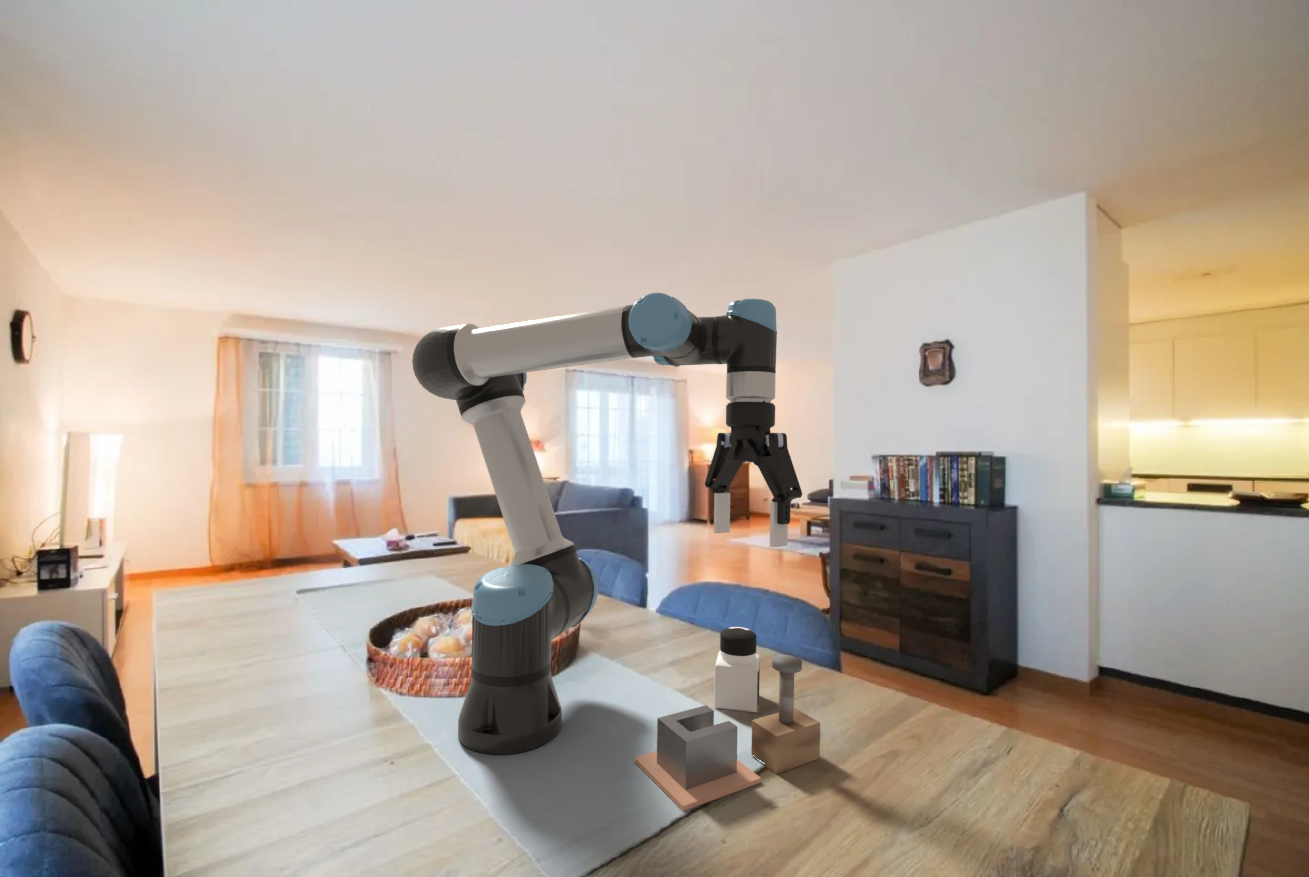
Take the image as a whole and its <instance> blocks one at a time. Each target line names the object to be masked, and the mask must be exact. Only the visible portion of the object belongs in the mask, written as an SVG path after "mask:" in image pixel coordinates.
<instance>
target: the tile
mask: <svg viewBox="0 0 1309 877" xmlns="http://www.w3.org/2000/svg"><path fill="white" fill-rule="evenodd" d="M634 763H635V764H636V765H637V766H638V767H639V768H640V769H641V770H642V772H644V773H645V774H646V775H647V777H649V778H650V779H651V781H653V782H654V784H656V786H657V787H658V788H659V789H660V790H661V791H662V792H663V791H664V792H665V795H666V796H667V795H668V796H667V797H668V798H669V799H670V800H671V801H672V800H673V801H674V802H675V803H674V802H673V801H672V802H673V803H674V804H675V805H676V806H677V807H678V808H679V809H680V810H681V811H682V812H685V811H687V810H690V809H693V808H696V807H699V806H701V805H703V804H706V803H709V802H712V801H714V800H717V799H720V798H722V797H723V798H724V797H725V796H728V795H731V794H733V793H734V794H735V793H736V792H739V791H742V790H744V789H748V788H750V787H753V786H755V785H758V784H760V783H762V778H761V777H760V776H759V775H758V774H756V772H754V771H753V770H752V769H750V768H749V767H748V766H746V765H745V764H744V763H742V762H741V761H740V760H738V759H737V773H734V774H731V775H728V776H726V777H723V778H720V779H717V780H714V781H711V782H708V783H705V784H702V785H700V786H697V787H694V788H691V789H688V790H685V789H684V788H683V787H681V786H680V785H679V784H678V783H677V782H676V781H675V780H674V779H673V778H672V777H671V776H670V775H669V774H668V773H667V772H666V771H665V770H664V769H663V768H662V767H661V766H660V765H658V764H657V750H656V751H652V752H649V753H645V754H643V755H639V756H635V757H634ZM664 792H663V793H664ZM684 810H685V811H684Z"/></svg>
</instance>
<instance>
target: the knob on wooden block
mask: <svg viewBox="0 0 1309 877" xmlns="http://www.w3.org/2000/svg"><path fill="white" fill-rule="evenodd" d="M802 661H803V660H802V659H800V658H799V657H796V656H793V655H788V654H778V655H775V656H773V657H772V665H771V667H772V669H774V670H775V671H777V672H779V684H778V685H779V686H778V712H775V713H773V714H768V715H765V716H762V717H758V718H755V719H753V720H751V753H750V754H752V755H754V756H755V757H756V758H757V759H759V760H761V761H762V762H764V763H765V765H766V769H768V770H769V771H771V772H772V773H774V774H775V775H778V774H780V773H783V772H785V771H789V770H792V769H793V768H798V767H800V766H803V765H805V764H808V763H811V762H813V761H816V760H819V759H820V755H821V722H820V721H819V720H816V718H813V717H812V716H809V715H808V714H806V713H804V712H803V711H801V710H800V709H797V708H796V707H794V706H795V704H794V703H795V674H796V673H799V672H801V671H802V669H803V667H802V666H803V662H802Z"/></svg>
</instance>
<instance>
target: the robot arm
mask: <svg viewBox="0 0 1309 877" xmlns="http://www.w3.org/2000/svg"><path fill="white" fill-rule="evenodd" d="M777 334H778V331H777V308H776V306H775V305H774V303H772V302H771V301H769V300H767V299H762V298H761V299H760V298H743V299H738V300H734V301H732V302H730V303H729V304H728V306H727V311H726V314H725V315H717V316H696V315H695V313H693V312H691V311H690V310H689V309H688V308H687V306H685V304H684V303H683V302H682V301H680V300H679V299H678V298H675V297H674V296H670V295H668V294H666V293H663V292H650V293H647V294H645V295H644V296H641V297H640V298H639V299H637V301H635V303H632V304H628V305H622V306H616V307H615V306H614V307H610V308H609V307H608V308H603V309H598V310H597V309H596V310H592V311H591V310H590V311H585V312H579V313H571V314H565V315H559V316H553V317H546V318H540V319H534V320H527V321H521V322H520V321H519V322H514V323H509V324H503V325H495V326H490V327H483V328H480V327H478V326H477V325H475V324H474V323H464V324H459V325H452V326H445V327H439V328H437V329H433V330H431V331H430V332H428V333H426V334H425V335H424V336H422V337H421V339H420V340H419V341H418V342H417V344H416V346H415V347H414V349H413V353H412V359H411V360H412V362H411V363H412V369H413V373H414V375H415V377H416V379H417V381H418V383H419V384H420V386H422V388H423V389H424V390H426V391H427V392H428V393H430V394H432V395H434V396H436V397H438V398H442V399H448V400H454V401H455V403H456V405H457V408H458V411H459V414H460V417H461V419H462V421H464V422H466V423H468V424H470V425H472V426H473V428H474V432H475V434H476V438H477V440H478V444H479V447H480V450H481V454H482V456H483V459H484V463H485V466H486V468H487V471H488V474H489V478H490V481H491V484H492V486H493V490H494V492H495V493H494V494H495V497H496V499H497V503H498V506H499V509H500V511H501V515H502V518H503V521H504V524H505V527H506V530H507V533H508V537H509V539H510V543H511V547H512V549H513V552H514V556H513V558H512V560H511V562H510V564H509V565H508V566H507V567H504V566H502V567H498V568H494V569H493V570H490V571H488V572H486V573H485V574H483V575H481V577H479V578H478V579H477V581H476V582H475V584H474V587H473V596H472V600H471V606H470V609H471V614H472V615H471V616H472V619H471V622H472V623H471V624H472V625H471V678H470V683H469V685H468V686H469V687H468V690H467V691H466V694H465V698H464V700H463V703H462V706H461V710H460V712H459V716H458V719H457V720H458V721H457V722H458V724H457V736H458V740H459V741H460V742H461V744H462V745H463V746H465V747H466V748H468V749H470V750H472V751H475V752H477V753H479V752H480V753H484V754H492V755H508V754H509V755H510V754H516V753H521V752H525V751H530V750H533V749H537V748H539V747H542V746H543V745H545V744H547V743H549V742H551V740H553V739H554V738H555V737H556V736H557V735H558V734H559V733H560V731H561V729H562V723H563V722H562V720H563V719H562V718H563V717H562V715H563V710H562V706H561V703H560V699H559V696H558V693H557V690H556V687H555V683H554V681H553V680H554V679H553V677H552V672H551V670H552V641H553V640H555V639H556V638H557V637H559V636H560V635H561V634H563V633H565V632H566V631H568V630H569V629H571V628H575V627H576V626H578V625H579V624H581V622H582V621H584V619H585V618H586V617H588V615H590V613H591V611H593V608H594V607H595V605H596V602H597V600H598V594H599V584H598V583H599V582H598V578H597V575H596V572H595V571H594V569H593V567H592V565H590V564H589V563H588V562H587V561H585V560H583V558H581V557H579V555H578V552H577V548H576V545H575V543H574V541H571V540H569V539H566V538H565V537H564V536H563V534H562V532H561V529H560V525H559V522H558V520H557V516H556V514H555V511H554V508H553V504H552V501H551V499H550V495H549V492H548V489H547V487H546V484H545V481H544V478H543V475H542V471H541V469H540V466H539V463H538V461H537V456H536V454H535V452H534V449H533V446H532V442H531V439H530V436H529V433H528V430H527V428H526V425H525V422H524V418H523V415H522V413H521V412H522V409H523V407H524V405H525V403H526V398H525V394H524V391H525V385H526V384H527V379H528V378H527V375H528V374H527V373H530V372H531V373H532V372H539V371H547V370H554V369H561V368H568V367H577V366H582V365H590V364H591V365H592V364H598V363H604V362H612V361H614V362H615V361H619V360H628V359H638V358H645V357H647V358H648V357H652V358H653V361H654V362H655V363H656V364H658V365H659V366H673V367H675V368H676V367H680V366H695V365H696V366H698V365H699V366H701V365H726V382H725V383H726V388H725V398H726V399H727V400H729V402H728V403H727V404H726V405H725V425H726V426H727V427H729V428H730V429H731V430H730V432H719V433H718V434H717V436H716V446H715V450H714V453H713V456H712V458H711V459H712V460H711V463H710V465H709V468H708V472H707V475H706V478H705V480H704V486H705V488H709V489H710V490H711V493H712V494H713V495H712V497H713V498H712V501H713V502H712V508H713V509H712V510H713V533H714V534H724V533H725V534H726V533H730V532H731V492H730V491H731V490H730V488H729V487H730V486H731V484H732V483H733V480H734V479H735V477H736V475H737V473H738V472H739V470H740V468H741V466H742V465H743V464H745V463H753V465H755V466H757V467H758V469H759V472H760V474H761V475H762V477H763V479H764V481H765V482H766V485H767V487H768V488H769V490H770V493H771V495H772V496H773V498H772V499H771V501H769V502H770V504H769V505H770V506H769V508H770V510H769V547H771V548H780V547H781V548H783V547H787V546H788V534H789V533H788V532H789V530H788V526H789V525H790V523H791V503H792V501H794V500H795V499H800V498H802V496H803V491H802V488H801V485H800V482H799V478H798V476H797V473H796V470H795V467H794V464H793V460H792V458H791V457H792V456H791V454H790V452H789V449H788V436H787V434H786V433H785V432H771V428H773V427H775V425H776V405H775V403H773V402H772V401H773V400H774V399H775V398H776V371H777V370H776V368H777V345H778V344H777V341H778V340H777V338H778V335H777Z"/></svg>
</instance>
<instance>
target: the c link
mask: <svg viewBox="0 0 1309 877" xmlns="http://www.w3.org/2000/svg"><path fill="white" fill-rule="evenodd" d="M714 721H715V710H714V709H712V708H711V707H709V706H708V705H705V704H704V705H702V706H699V707H698V706H697V707H693V708H690V709H686V710H683V711H680V712H675V713H672V714H671V713H670V714H668V715H664V716H660V717H657V721H656V722H657V725H656V728H657V732H656V734H657V735H656V751H657V764H658V765H660V766H661V767H662V768H663V769H664V770H665V771H666V772H667V773H668V774H669V775H670V776H671V777H672V778H673V779H674V780H675V781H676V782H677V783H678V784H679V785H680V786H681V787H683V788H684V789H685V790H688V789H691V788H694V787H697V786H700V785H702V784H705V783H708V782H711V781H714V780H717V779H720V778H723V777H726V776H728V775H731V774H734V773H737V760H738V726H737V725H736V724H735V723H733V722H731V720H727V721H723V722H720V723H717V724H714Z"/></svg>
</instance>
